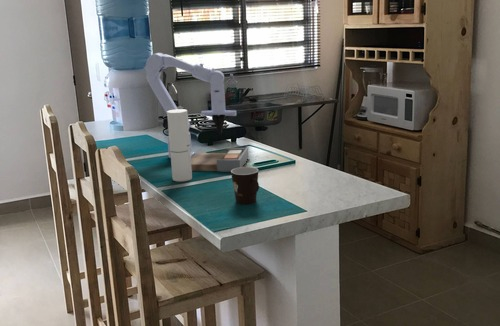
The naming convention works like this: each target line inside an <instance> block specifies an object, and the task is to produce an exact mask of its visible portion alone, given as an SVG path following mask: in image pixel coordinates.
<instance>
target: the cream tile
mask: <svg viewBox="0 0 500 326" xmlns="http://www.w3.org/2000/svg"><path fill="white" fill-rule="evenodd" d="M226 153H227V152H226ZM241 154H242V150H229V152H228V153H227V155H239V157H240V156H241Z"/></svg>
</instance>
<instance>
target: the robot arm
mask: <svg viewBox="0 0 500 326" xmlns="http://www.w3.org/2000/svg"><path fill="white" fill-rule="evenodd" d="M170 67H174V68H177V69H179V70H181V71H186V72H188V73H191V75H192V77H193V78H195V79H198V80H200V81H203V82H205V83H209V84H210V101H211V110H202V111H200V113H201V114H200V115H201V117H211V121H213V123H214V125H215V128H216V131H217V134H222V133H223V128H224V125H225V121H226V119H227V116H228V117H229V116H230V117H237V115H238V113H237V110H233V109H232V110H227V109H226V94H225V93H226V91H225V84H224V81H225V74H224V72H222V71H220V69H215V68H214V67H212V68H210V67H208V66H205V65H204V63H202V62H201V63H196V64H192V63H189V62H187V61H184V60H182V59H179V58H177V57H175V56H173V55H170V54H167V53H165V54H164V53H163V52H155V53H153V54H151V55H149V56H148V57H147V59H146V63H145V68H146V69H145V72H146V73H145V74H146V75H145V77H146V81H147V83H148V85H149V86H150V88H151V90H152V92H153V93H154V96H155V97H156V98H157V99H158V101H159V103H160V105H161V106H162V108H163V110H164V112H165V114H167V111H169V110H175V109H178V106H177V105H176V103H175V102H174V100H173V98H172V96H171V95H170V93H169V91H168V90H167V88H166V86H165V84H164V83H163V81H162V79H161V75H162V71H163V70H164V68H170ZM188 127H189V129H190V128H191V122H190V120H189V119H188ZM189 140H190V154H191V157H192V156H193V155H194V154H195V153H196V152H195V151H193V150H192V138H191V132H190V131H189ZM167 149H168V150H167V151H168V157H167V158H170V159H171V154H170V142H169V136H168V137H167Z"/></svg>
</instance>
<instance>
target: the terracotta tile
mask: <svg viewBox="0 0 500 326" xmlns="http://www.w3.org/2000/svg"><path fill="white" fill-rule="evenodd" d="M238 159H239V155H225V157H224V160H238Z"/></svg>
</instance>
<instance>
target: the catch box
mask: <svg viewBox="0 0 500 326" xmlns="http://www.w3.org/2000/svg"><path fill="white" fill-rule="evenodd" d="M229 150H242V154H241V156H240V157H239V159H238V160H224V158H223V160H221V159H217V171H216V172H224V173H225V172H230V173H231V170H232V169H235V168H239V167H244V166H245V165H246V163H247V162H246V161H248V160H249V159H248V158H249V147H226V153H228V152H229ZM247 159H248V160H247ZM245 162H246V163H245ZM244 164H245V165H244ZM243 165H244V166H243Z"/></svg>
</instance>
